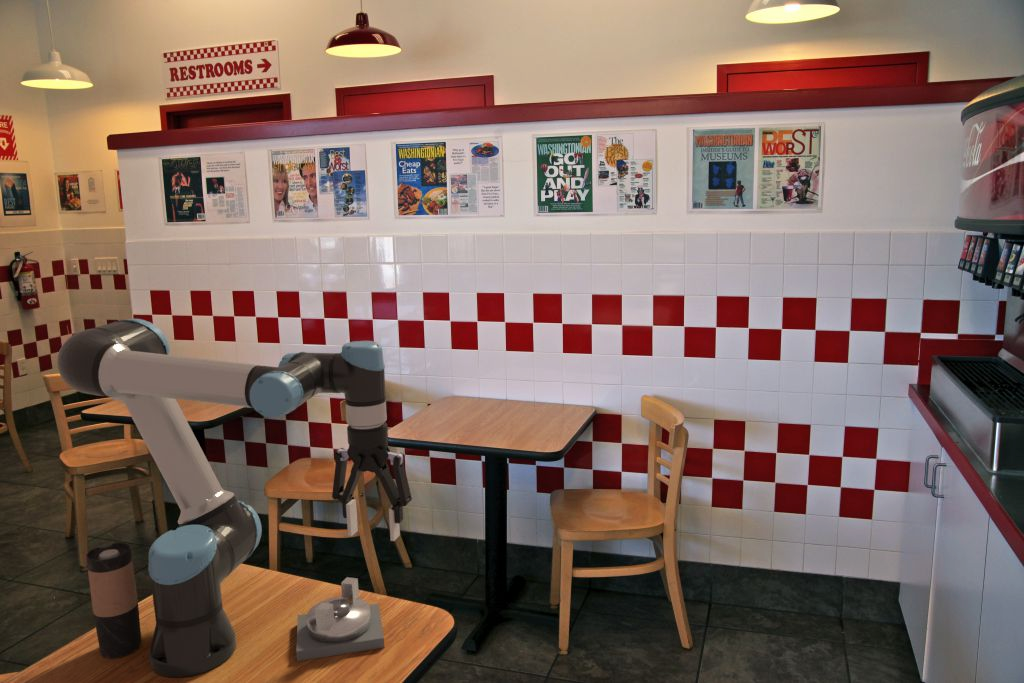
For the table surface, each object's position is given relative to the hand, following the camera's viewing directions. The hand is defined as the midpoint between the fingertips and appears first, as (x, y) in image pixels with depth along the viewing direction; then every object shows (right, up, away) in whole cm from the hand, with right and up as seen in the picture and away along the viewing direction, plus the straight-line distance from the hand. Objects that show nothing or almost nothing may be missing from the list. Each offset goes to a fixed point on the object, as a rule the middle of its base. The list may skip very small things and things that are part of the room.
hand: (374, 535), depth 153 cm
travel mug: (-48, -21, -2) cm, 53 cm away
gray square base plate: (-7, -20, +1) cm, 21 cm away
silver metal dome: (-7, -17, 0) cm, 19 cm away
